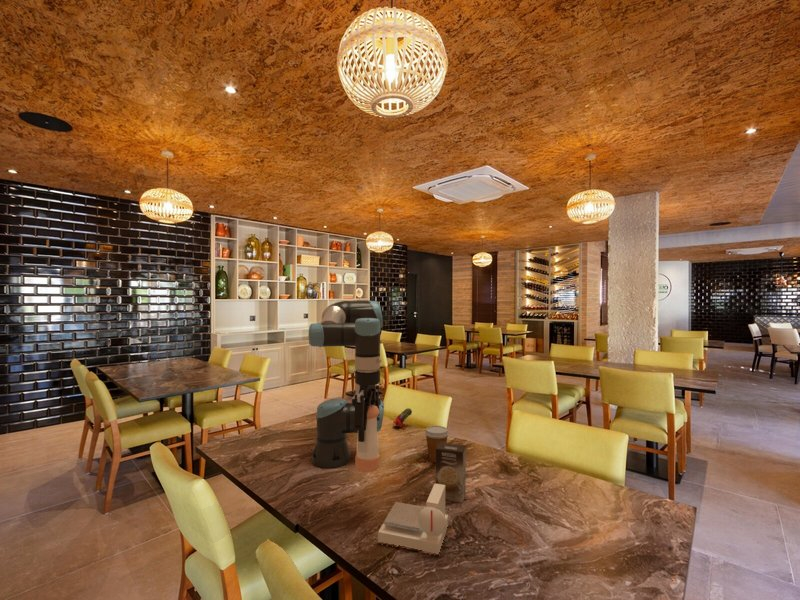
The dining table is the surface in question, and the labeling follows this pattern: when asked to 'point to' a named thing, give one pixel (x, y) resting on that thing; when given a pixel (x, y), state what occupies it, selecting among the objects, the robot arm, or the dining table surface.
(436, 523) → the scale base
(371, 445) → the salt shaker
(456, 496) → the coffee box
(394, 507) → the scale pan
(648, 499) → the dining table surface
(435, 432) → the disposable coffee cup
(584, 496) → the dining table surface
